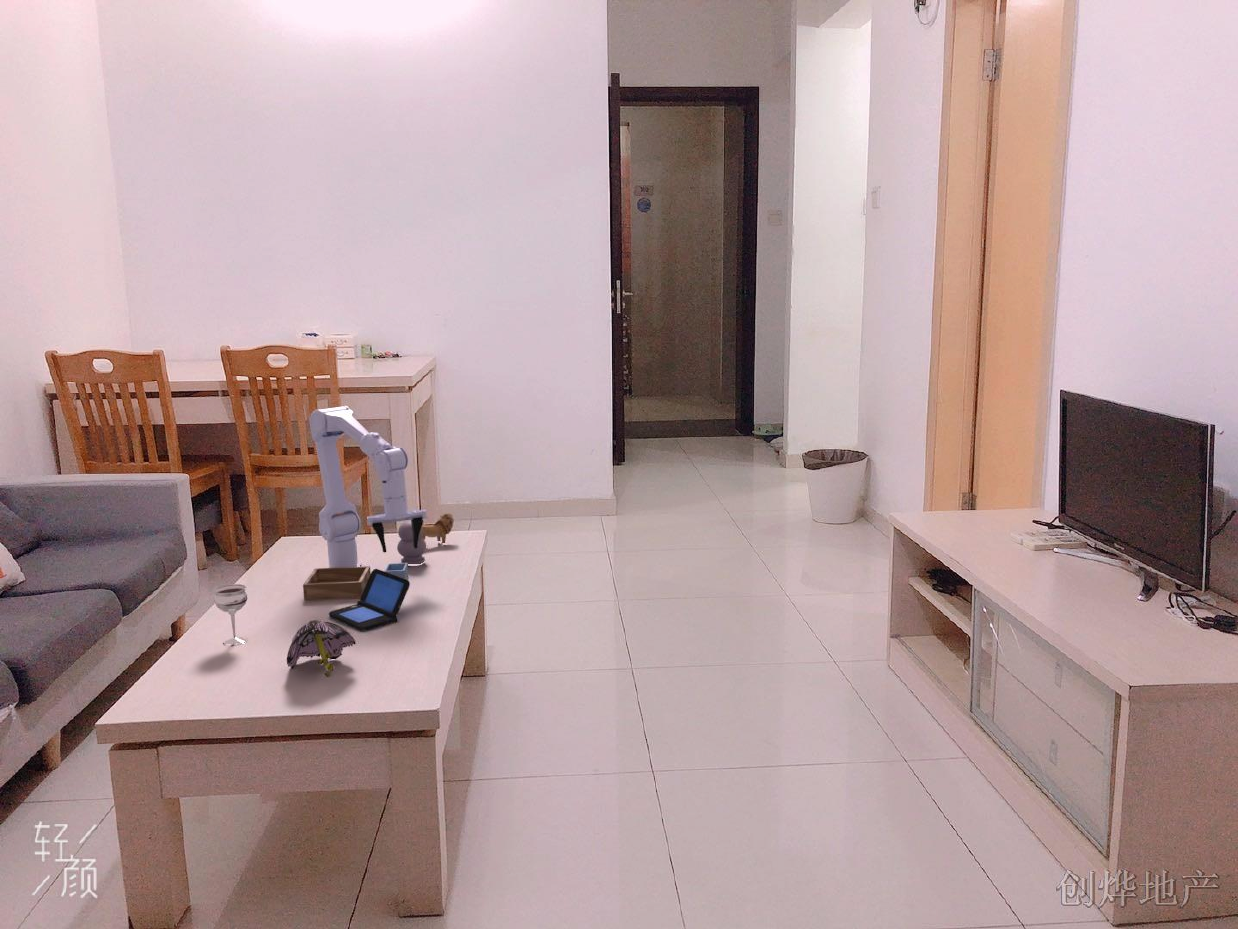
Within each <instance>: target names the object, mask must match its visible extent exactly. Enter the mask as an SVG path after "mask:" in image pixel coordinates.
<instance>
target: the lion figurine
mask: <svg viewBox="0 0 1238 929" xmlns="http://www.w3.org/2000/svg"><path fill="white" fill-rule="evenodd" d="M454 521H455V520H454V517H453V514H452V513H449V512H444V513H443V514H442V515H441V514H440V518H439V519H438V520H437V521H435V523H434V524H431V525H426V524H425V525H424V524H423V525H422V529H423V534H422V537H421V538H422V539H423V540H424V541H426V537H428V538H436V540H437V541H441V542H442V543H446V538H447V535H449V534H450V533H451V532H452V529H453V526H454Z"/></svg>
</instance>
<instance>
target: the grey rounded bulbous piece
mask: <svg viewBox="0 0 1238 929" xmlns="http://www.w3.org/2000/svg"><path fill="white" fill-rule="evenodd" d="M397 533H398V537H399V538H400V540H399V541H398V543H397V547H396V550H397V551H398V554H399V555H400V556H402V558H401V559H400V563H408V564H421V563H423V562H424V561H425V562H426V558H425V556H423V555H424V554H425V552H426V551H427V549H426V546H427V543H426V540H423V539H422V538H421V537H422V534H423V529H422V527H421V530H420V533H419V537H418V544H417V548H414V546H413V531H412V523H411V520H405V521H404V522H403V523H402V524H400V526H399V527H398V531H397Z"/></svg>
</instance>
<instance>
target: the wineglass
mask: <svg viewBox="0 0 1238 929" xmlns="http://www.w3.org/2000/svg"><path fill="white" fill-rule="evenodd" d="M246 588H247V585H245V584H240V583H235V584H226V585H222V586H218V587H215V588H214V589H213V592H214V594H215V595H214V597H213V598H214V599H213V602H214V603H215V604H214V605H216V607H217V609H218V610H220V611H221V612H225V613H227V614H229V615H230V620H231V628H232V635H233V638H229V640H228V639H227V641H226V640H225V644H240V645H242V644H245V643H246V642H247V641H246V639H247V638H246V639H244V638H245V637H236V620H235V614H236V613H237V612H238V611H239V610H242V609H243V607H245V605H246V604H247V601H248V594H247V591H246ZM244 642H245V643H244ZM241 643H242V644H241Z"/></svg>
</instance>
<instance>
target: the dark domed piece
mask: <svg viewBox="0 0 1238 929" xmlns="http://www.w3.org/2000/svg"><path fill="white" fill-rule="evenodd" d="M356 644H357V643H356V640H355V638H354V637H353V636H352V635H351V633H349V631H347V630H346V629H345V628H344V627H342V626H340V625H339V624H337V623H334V622H330V621H321V620H319V619H313V620H310V621H309V622H308V623H306V624H305V625H303V626H301V627H300V628H299V629H298V630H297V632H296V633H295V634H294V636H293V638H292V639H291V644H290V646H289V648H288V650H287V651H288V652H287V655H286V665H287V667H288V668H289V667H290V668H291V669H292V670H294V667H295V665H296V664H297V663H298V662H299V661H298V660H299V659H300V658H305V657H306V658H311V659H312V658H313V657H319V659H318V660H317V663H318V665H323V666H324V667H325V669H326V671H325V672H324V675H326V676H325V677H328V676H327V675H330V676H331V672H332V671H333V670H334V664H333V663H330V661H329V660H331V659H335V660H336V659H338V658H340V657H341V656H342V655H343V654H342V653H343V652H342V651H343V650H344V649H343V648H346V647H353V645H356ZM320 657H321V658H320Z"/></svg>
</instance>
